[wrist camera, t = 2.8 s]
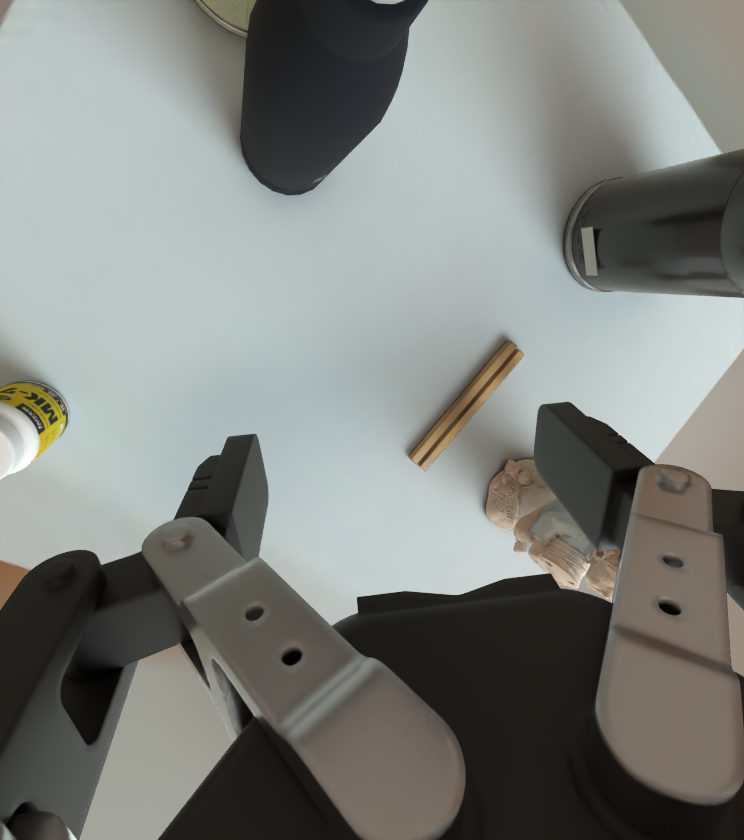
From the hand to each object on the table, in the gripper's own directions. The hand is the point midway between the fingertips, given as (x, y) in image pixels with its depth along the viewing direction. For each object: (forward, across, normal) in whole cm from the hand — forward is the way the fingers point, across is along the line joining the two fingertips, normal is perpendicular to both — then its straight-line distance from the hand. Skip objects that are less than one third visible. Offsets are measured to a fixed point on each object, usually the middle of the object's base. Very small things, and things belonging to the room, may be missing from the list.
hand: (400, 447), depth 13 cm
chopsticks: (+27, -9, +12) cm, 31 cm away
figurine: (+27, -15, +22) cm, 38 cm away
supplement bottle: (+21, +24, +6) cm, 32 cm away
